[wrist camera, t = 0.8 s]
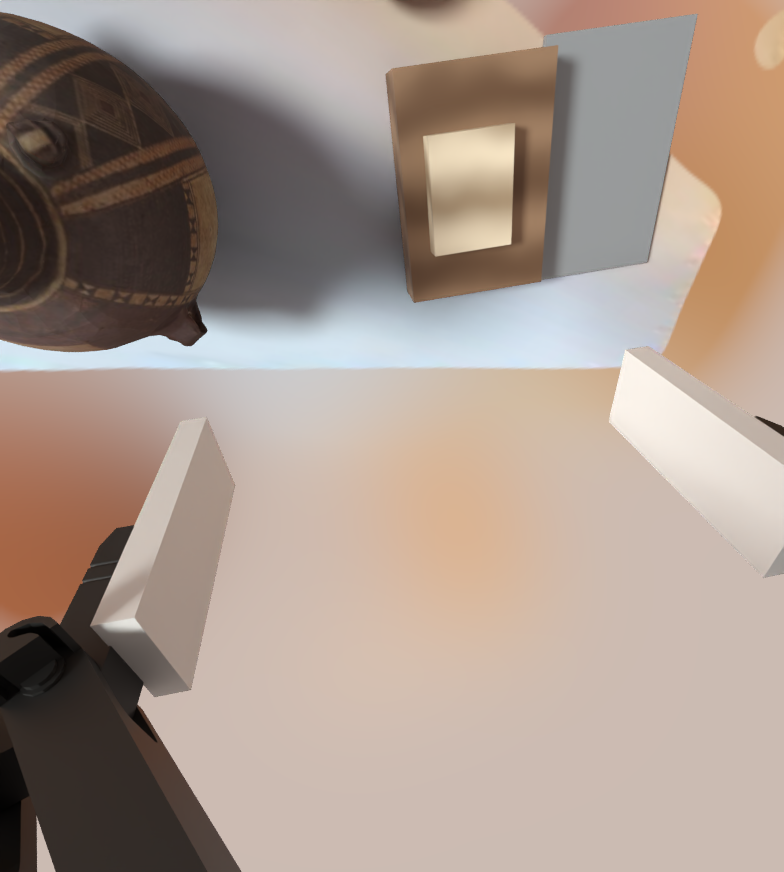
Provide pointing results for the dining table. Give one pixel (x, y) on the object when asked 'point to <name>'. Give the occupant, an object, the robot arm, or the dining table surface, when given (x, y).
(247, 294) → the dining table surface
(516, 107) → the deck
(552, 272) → the mat
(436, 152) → the tile
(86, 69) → the vase
